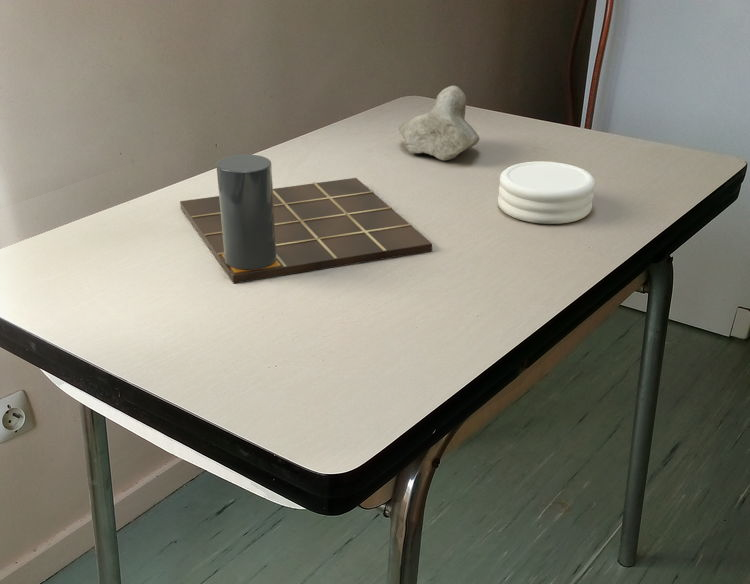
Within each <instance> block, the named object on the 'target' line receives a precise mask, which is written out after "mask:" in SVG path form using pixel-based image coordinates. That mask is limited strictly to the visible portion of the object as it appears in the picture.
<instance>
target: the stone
mask: <svg viewBox="0 0 750 584" xmlns="http://www.w3.org/2000/svg"><path fill="white" fill-rule="evenodd" d="M466 107H467V98H466V95H465V93H464V92H463V90H462V89H461V88H460V87H459V86H457V85H449V86H447V87H445V88H444V89H442V90H440V92H439V93H438V94H437V96H436V99H435V100H434V103H433V105H432V108H431V109H430V111H427V112H426V113H424V114H420V115H417V116H415V117H413V118H411V119H409V120H407V121H405V122H403V123H402V124H401V125H399V127H398V132H399V134H400V135H401V136H402V138H403V139H404V144H405V147H406V149H407V150H408V152H409V153H410V154H427V155H430V156H433V157H435V158H436V159H438V160H440V161H451V160H453V159H455V158H456V157H457V156H458V155H459V154H461V153H463V152H464V151H466V150H467V149H469V148H473V147H474V146H476V145H477V144H478V143H479V142H480V140H481V137H480V135H479V134H478V132H476V130H475V129H474V128H473V126H472V125H470V124H469V123H468V122H467V120H466V119H465V118H466V117H465V116H466V109H467V108H466Z"/></svg>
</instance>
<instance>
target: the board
mask: <svg viewBox="0 0 750 584" xmlns="http://www.w3.org/2000/svg"><path fill="white" fill-rule="evenodd" d="M273 204H274V222H275V241H276V261H275V262H274V263H273V264H272V265H270V266H268V267H265V268H262V269H256V270H241V269H236V268H233V267H230V266H228V265H227V264H226V262H225V258H224V247H223V235H222V224H221V212H220V201H219V195H215V196H210V197H209V196H208V197H202V198H201V197H200V198H194V199H186V200H180V201H179V205H180V210H181V211H182V212H183V214H184V215H185V216H186V218H187V219H188V221H189V223H190V224H191V225H192V227H193V228H194V229H195V231H196V232H197V234H198V235H199V237H200V238H201V239H202V241H203V242H204V243H205V245H206V247H207V248H208V249H209V250H210V252H211V253H212V255H213V256H214V258H215V259H216V261H217V262H218V263H219V265H220V267H221V268H222V269H223V270H224V272H225V273H226V275H227V276H228V277H229V279H230V281H231V282H232V283H233V284H237V283H243V282H251V281H256V280H262V279H269V278H275V277H280V276H287V275H294V274H299V273H305V272H311V271H317V270H324V269H329V268H336V267H342V266H348V265H354V264H360V263H368V262H371V261H372V262H373V261H379V260H385V259H390V258H391V259H392V258H398V257H403V256H410V255H416V254H423V253H429V252H432V251H433V243H432V242H431V241H430V240H428V239H427V238H426V237H425V236H424V235H423V234H422V233H421V232H419V230H417V229H416V228H415V227H414V226H413V225H412V223H409V222H408V221H407V220H406V219H405V218H403V217H402V216H401V215H400V214H399V213H397V211H395V210H394V209H393V207H392V206H390V205H388V204H387V203H386V202H385V201H384V200H382V199H381V197H379V196H378V195H377V194H375V191H373V190H371V189H370V188H369V187H368V186H367V185H365V184H364V183H363V182H362V181H361V180H359V179H358V178H357V177H350V178H343V179H335V180H328V181H320V182H316V181H315V182H314V181H313V182H312V183H307V184H306V183H305V184H298V185H291V186H284V187H275V188H273Z"/></svg>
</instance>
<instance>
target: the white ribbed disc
mask: <svg viewBox="0 0 750 584" xmlns="http://www.w3.org/2000/svg"><path fill="white" fill-rule="evenodd" d="M595 188H596V180H595V178H594V176H593V175H592V174H591V173H590V172H589V171H587V170H586V169H583V168H582V167H579V166H576V165H572V164H568V163H563V162H557V161H543V160H541V161H527V162H521V163H516V164H513V165H511V166H508V167H507V168H506V169H504V170H503V171H502V172H501V173H500V175H499V187H498V197H497V205H498V207H499V209H500V210H501V211H502V212H503V213H504V214H506V215H508V216H510V217H511V218H513V219H516V220H519V221H524V222H528V223H534V224H540V225H541V224H542V225H559V224H561V225H562V224H568V223H569V224H570V223H572V222H576V221H579V220H582V219H583V218H586V216H588V215H589V214H590V213H591V211H592V209H593V200H594V197H595V193H594V190H595Z"/></svg>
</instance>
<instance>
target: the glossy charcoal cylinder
mask: <svg viewBox="0 0 750 584" xmlns="http://www.w3.org/2000/svg"><path fill="white" fill-rule="evenodd" d="M215 165H216V177H217V188H218V196H219V201H220V212H221V224H222V235H223V247H224V258H225V262H226V264H227V265H228V266H230V267H233V268H236V269H241V270H256V269H262V268H265V267H268V266H270V265H272V264H273V263H274V262H275V261H276V241H275V222H274V204H273V189H274V188H273V186H274V185H273V170H272V169H273V168H272V167H273V166H272V161H271V160H270V159H269V158H267V157H266V156H262V155H257V154H249V153H246V154H245V153H244V154H242V153H241V154H233V155H229V156H226V157H222V158H221V159H218V161H216V163H215Z"/></svg>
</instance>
